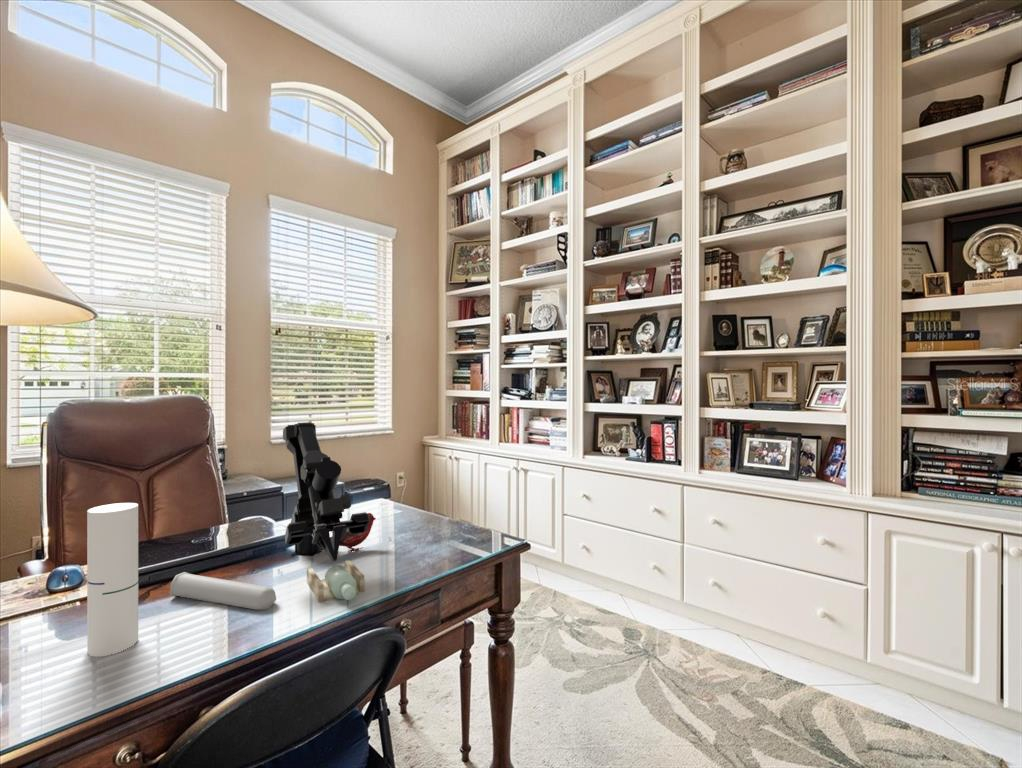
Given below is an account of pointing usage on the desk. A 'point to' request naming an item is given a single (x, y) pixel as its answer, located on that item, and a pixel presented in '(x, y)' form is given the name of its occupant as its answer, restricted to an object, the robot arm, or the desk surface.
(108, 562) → the cylindrical container
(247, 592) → the tube
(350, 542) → the decorative bird figurine
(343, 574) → the bottle
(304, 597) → the desk surface
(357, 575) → the cradle
